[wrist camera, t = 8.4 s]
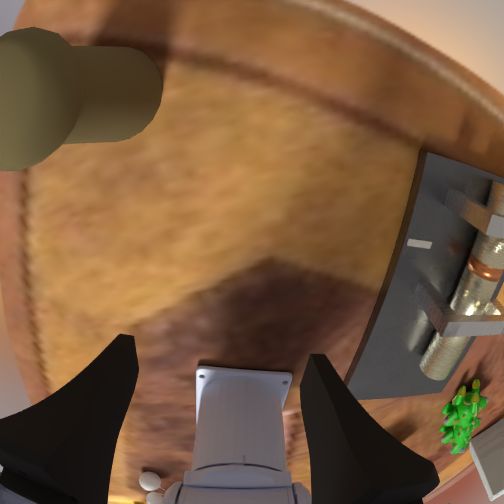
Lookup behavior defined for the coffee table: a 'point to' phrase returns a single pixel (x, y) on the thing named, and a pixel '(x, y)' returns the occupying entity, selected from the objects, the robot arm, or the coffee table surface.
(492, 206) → the brass tube
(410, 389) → the collar base
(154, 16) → the coffee table surface
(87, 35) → the coffee table surface
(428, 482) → the robot arm
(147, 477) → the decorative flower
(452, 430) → the green bumpy long piece
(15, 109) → the cork
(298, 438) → the coffee table surface
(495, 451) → the supplement box
